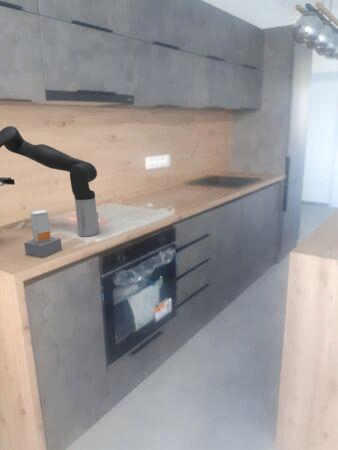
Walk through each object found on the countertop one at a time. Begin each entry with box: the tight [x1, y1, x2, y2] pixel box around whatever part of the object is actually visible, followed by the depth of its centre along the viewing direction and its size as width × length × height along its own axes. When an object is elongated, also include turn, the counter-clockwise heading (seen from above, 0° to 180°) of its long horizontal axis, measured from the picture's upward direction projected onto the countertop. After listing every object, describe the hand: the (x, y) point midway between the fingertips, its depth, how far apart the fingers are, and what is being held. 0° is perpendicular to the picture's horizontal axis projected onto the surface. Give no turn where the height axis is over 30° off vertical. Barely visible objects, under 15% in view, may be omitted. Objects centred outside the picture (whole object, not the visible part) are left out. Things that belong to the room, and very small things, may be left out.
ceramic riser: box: [23, 236, 63, 259], centre depth 150 cm, size 10×10×5 cm
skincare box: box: [29, 209, 52, 243], centre depth 148 cm, size 6×4×12 cm
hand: (5, 183), depth 151 cm, fingers open, 8 cm apart
